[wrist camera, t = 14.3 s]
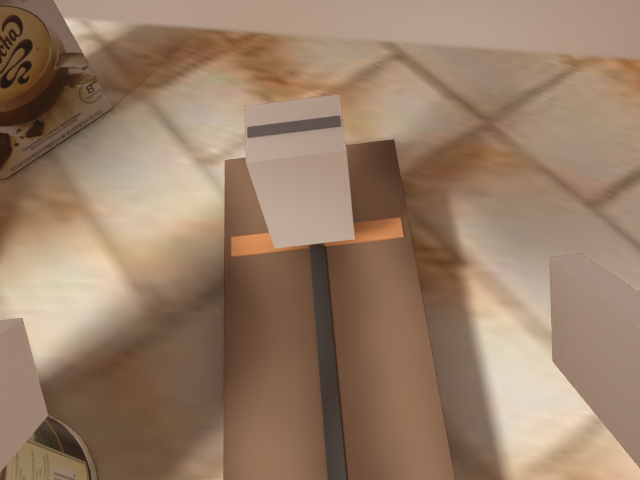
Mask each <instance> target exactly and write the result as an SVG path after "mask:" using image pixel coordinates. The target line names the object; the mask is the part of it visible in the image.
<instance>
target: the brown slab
mask: <svg viewBox="0 0 640 480" xmlns="http://www.w3.org/2000/svg"><path fill="white" fill-rule="evenodd" d="M346 150H347V161H348V172H349V182H350V193H351V204H352V215H353V225H354V236H355V239H354V240H345V241H336V242H328V243H319V244H310V245H302V246H293V247H284V248H276V249H274V246H273V243H272V240H271V237H270V234H269V231H268V228H267V225H266V222H265V219H264V216H263V213H262V210H261V207H260V204H259V201H258V198H257V195H256V192H255V189H254V186H253V183H252V180H251V177H250V174H249V171H248V168H247V165H246V158H239V159H231V160H225V236H224V478H223V480H455V478H454V472H453V467H452V461H451V456H450V450H449V444H448V439H447V433H446V428H445V422H444V416H443V411H442V405H441V400H440V394H439V388H438V383H437V377H436V372H435V366H434V361H433V355H432V349H431V344H430V338H429V333H428V327H427V321H426V316H425V310H424V305H423V299H422V293H421V288H420V282H419V277H418V271H417V265H416V260H415V254H414V249H413V243H412V237H411V232H410V226H409V221H408V215H407V210H406V204H405V198H404V193H403V187H402V182H401V176H400V170H399V165H398V159H397V154H396V148H395V142H394V140H386V141H378V142H369V143H361V144H353V145H346Z"/></svg>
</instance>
